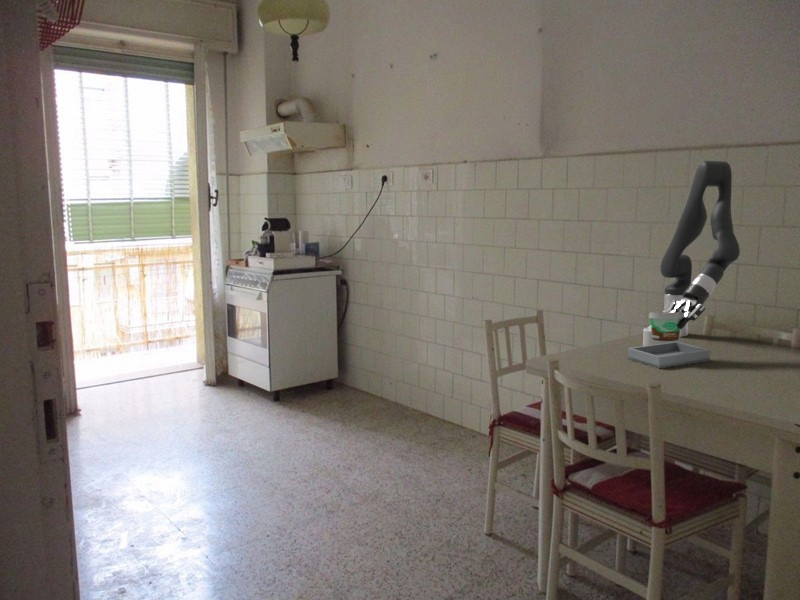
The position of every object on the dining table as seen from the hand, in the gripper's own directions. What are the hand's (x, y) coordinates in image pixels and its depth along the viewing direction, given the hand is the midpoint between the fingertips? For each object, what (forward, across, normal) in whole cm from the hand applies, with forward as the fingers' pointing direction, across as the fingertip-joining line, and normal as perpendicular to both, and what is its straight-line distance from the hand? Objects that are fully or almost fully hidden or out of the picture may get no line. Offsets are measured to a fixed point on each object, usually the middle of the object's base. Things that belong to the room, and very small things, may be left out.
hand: (672, 326), depth 236 cm
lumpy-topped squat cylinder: (+2, -17, +16) cm, 23 cm away
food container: (+5, 0, +2) cm, 5 cm away
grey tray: (+10, 0, +7) cm, 12 cm away
